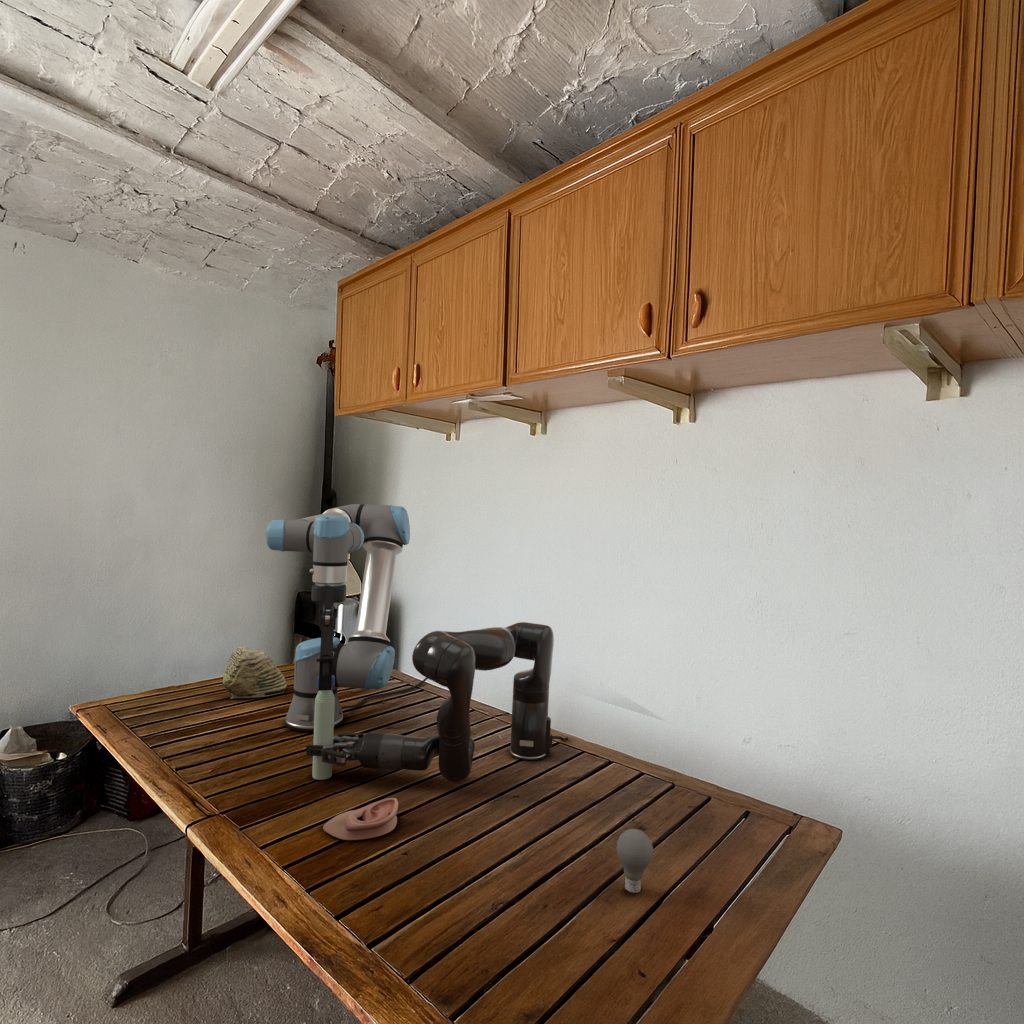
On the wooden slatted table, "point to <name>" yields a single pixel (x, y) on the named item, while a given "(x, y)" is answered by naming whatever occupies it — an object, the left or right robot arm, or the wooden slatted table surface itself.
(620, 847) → the light bulb
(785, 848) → the wooden slatted table surface
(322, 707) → the bottle
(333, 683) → the cap
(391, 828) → the anatomical model
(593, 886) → the wooden slatted table surface
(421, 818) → the wooden slatted table surface
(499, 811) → the wooden slatted table surface
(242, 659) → the fossil
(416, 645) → the right robot arm
